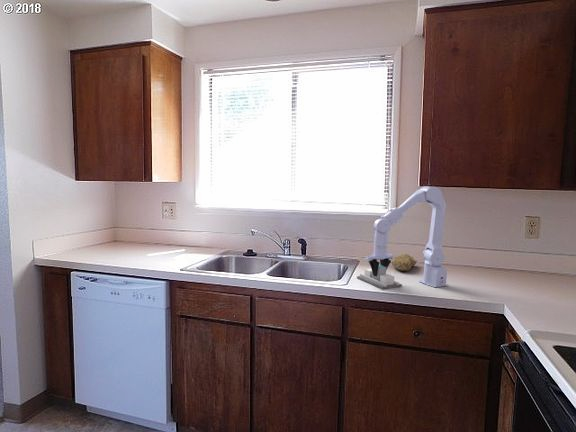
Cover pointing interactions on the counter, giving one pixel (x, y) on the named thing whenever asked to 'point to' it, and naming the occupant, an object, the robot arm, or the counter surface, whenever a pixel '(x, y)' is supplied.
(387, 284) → the rail board
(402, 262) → the sponge
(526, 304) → the counter surface
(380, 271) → the module
